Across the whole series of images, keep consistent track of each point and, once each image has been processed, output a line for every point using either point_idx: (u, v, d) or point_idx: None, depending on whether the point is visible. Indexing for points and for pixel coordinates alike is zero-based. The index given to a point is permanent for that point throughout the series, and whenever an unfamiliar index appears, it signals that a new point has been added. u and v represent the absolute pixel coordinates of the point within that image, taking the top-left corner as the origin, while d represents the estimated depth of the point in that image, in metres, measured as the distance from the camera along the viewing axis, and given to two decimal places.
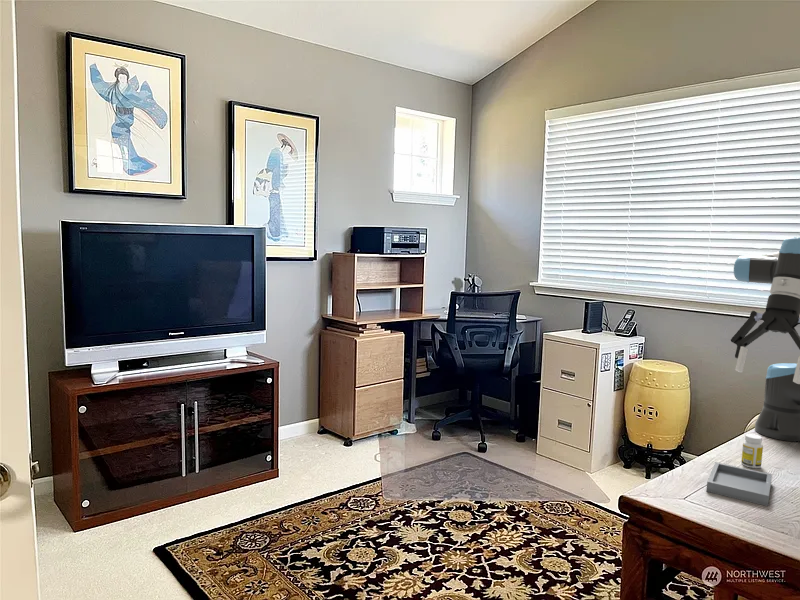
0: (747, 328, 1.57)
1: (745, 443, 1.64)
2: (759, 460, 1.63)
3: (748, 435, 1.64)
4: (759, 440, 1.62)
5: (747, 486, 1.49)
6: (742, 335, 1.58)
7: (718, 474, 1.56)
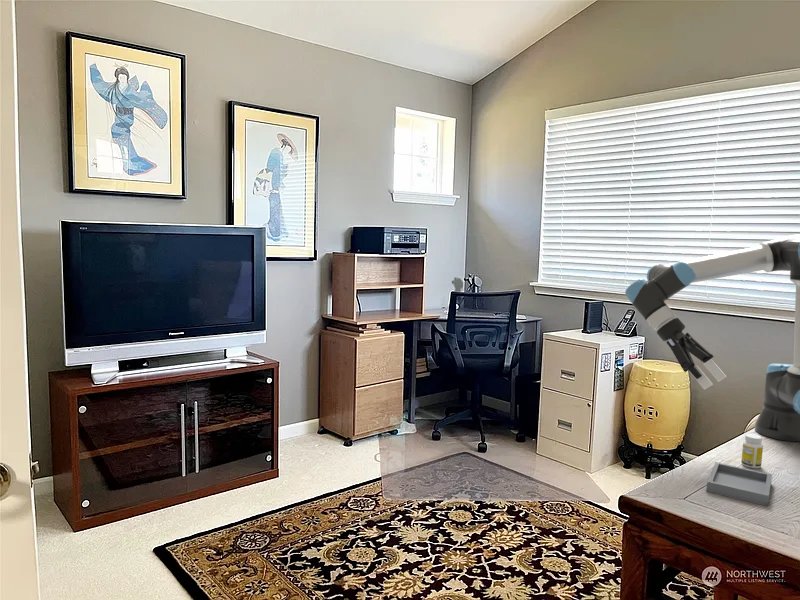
0: None
1: (745, 443, 1.64)
2: (759, 460, 1.63)
3: (748, 435, 1.64)
4: (759, 440, 1.62)
5: (747, 486, 1.49)
6: None
7: (718, 474, 1.56)
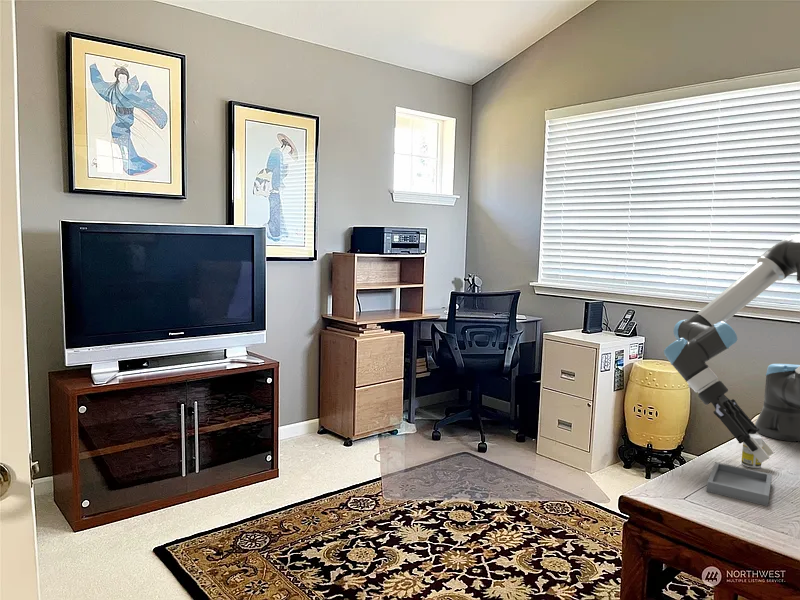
0: None
1: None
2: None
3: None
4: (759, 440, 1.62)
5: (747, 486, 1.49)
6: None
7: (718, 474, 1.56)
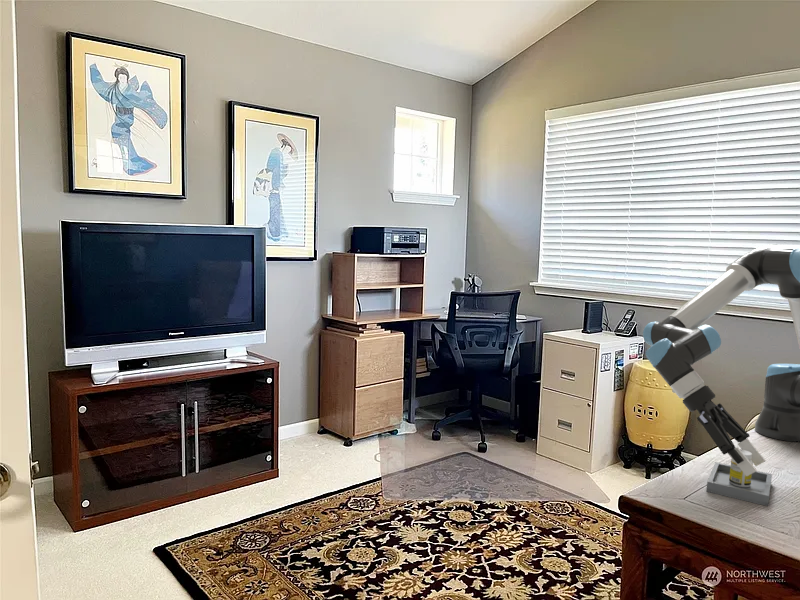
0: None
1: (733, 460, 1.49)
2: (748, 479, 1.48)
3: None
4: (749, 457, 1.47)
5: None
6: None
7: (718, 474, 1.56)
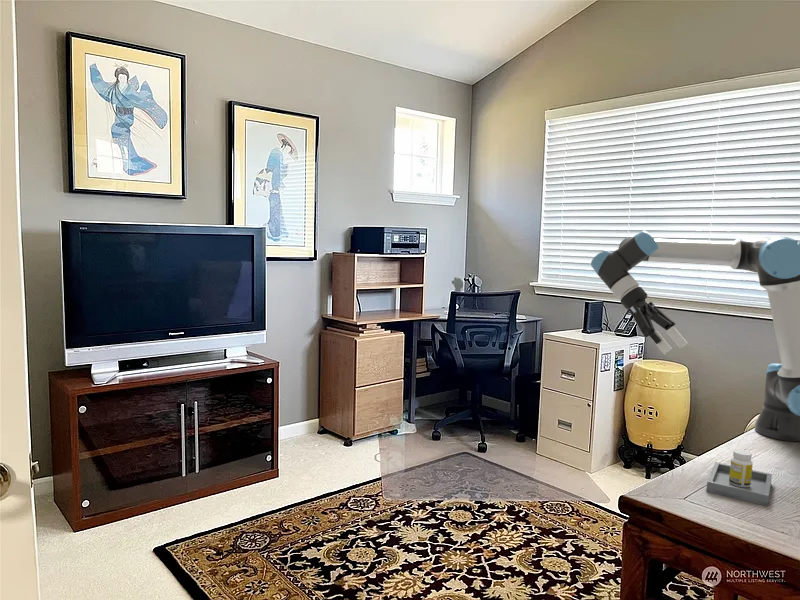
0: None
1: (733, 460, 1.49)
2: (748, 479, 1.48)
3: (737, 451, 1.49)
4: (749, 457, 1.47)
5: None
6: None
7: (718, 474, 1.56)
